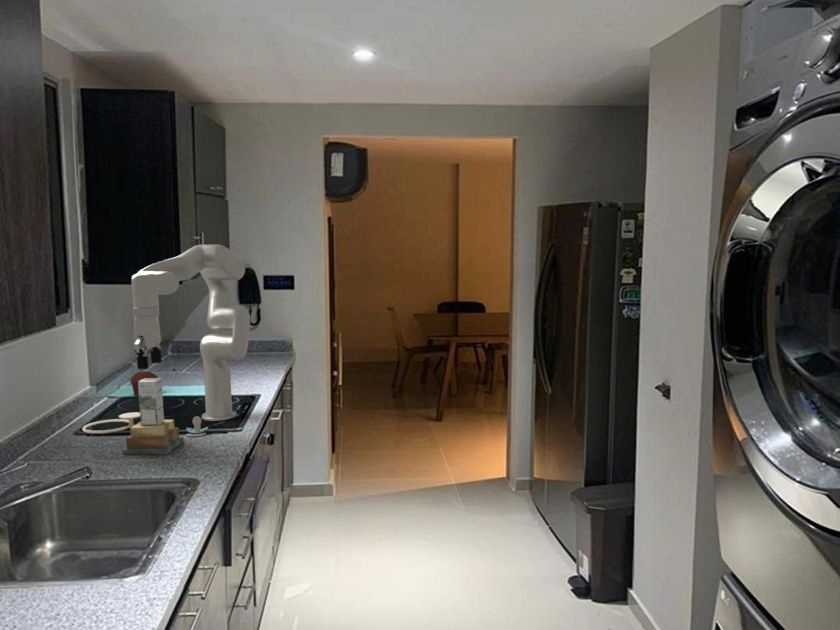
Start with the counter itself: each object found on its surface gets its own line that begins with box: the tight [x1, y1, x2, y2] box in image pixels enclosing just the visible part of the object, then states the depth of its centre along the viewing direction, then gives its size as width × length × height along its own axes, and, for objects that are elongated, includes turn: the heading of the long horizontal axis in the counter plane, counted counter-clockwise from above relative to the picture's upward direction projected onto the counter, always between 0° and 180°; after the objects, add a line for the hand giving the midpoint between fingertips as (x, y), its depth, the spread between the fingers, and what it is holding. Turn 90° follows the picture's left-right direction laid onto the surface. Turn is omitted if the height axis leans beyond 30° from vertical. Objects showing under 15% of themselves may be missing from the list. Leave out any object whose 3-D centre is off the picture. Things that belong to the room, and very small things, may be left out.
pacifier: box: [185, 415, 209, 438], centre depth 243 cm, size 7×6×6 cm
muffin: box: [129, 371, 159, 396], centre depth 306 cm, size 12×11×10 cm
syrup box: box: [138, 377, 165, 425], centre depth 227 cm, size 6×6×14 cm
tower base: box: [121, 419, 185, 455], centre depth 228 cm, size 14×14×8 cm
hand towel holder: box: [82, 411, 140, 435], centre depth 254 cm, size 17×4×21 cm
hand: (149, 365), depth 226 cm, fingers open, 9 cm apart
